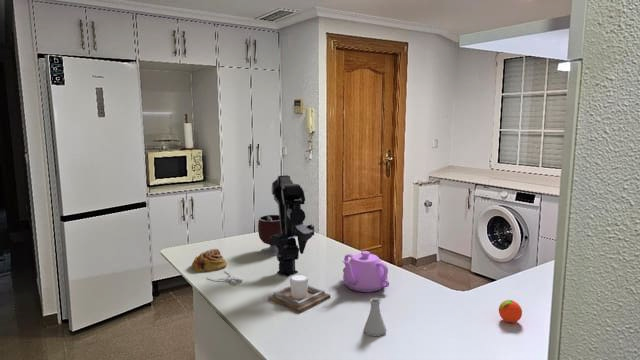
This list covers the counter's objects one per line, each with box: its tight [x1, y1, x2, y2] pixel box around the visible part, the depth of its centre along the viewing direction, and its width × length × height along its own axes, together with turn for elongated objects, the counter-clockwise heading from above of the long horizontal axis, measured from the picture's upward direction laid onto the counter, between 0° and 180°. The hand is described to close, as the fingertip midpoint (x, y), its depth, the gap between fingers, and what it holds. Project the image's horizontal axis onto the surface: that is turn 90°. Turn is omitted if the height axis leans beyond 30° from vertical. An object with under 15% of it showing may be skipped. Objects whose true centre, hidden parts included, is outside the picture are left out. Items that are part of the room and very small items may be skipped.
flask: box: [363, 298, 387, 337], centre depth 133 cm, size 7×7×10 cm
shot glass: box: [289, 273, 309, 299], centre depth 157 cm, size 7×7×7 cm
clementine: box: [498, 299, 523, 324], centre depth 138 cm, size 8×7×7 cm
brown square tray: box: [267, 284, 331, 314], centre depth 157 cm, size 16×16×3 cm
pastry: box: [191, 248, 227, 273], centre depth 191 cm, size 13×15×8 cm
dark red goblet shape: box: [257, 214, 281, 257], centre depth 208 cm, size 16×14×20 cm
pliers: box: [206, 270, 243, 286], centre depth 176 cm, size 10×2×15 cm
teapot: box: [342, 250, 390, 293], centre depth 166 cm, size 22×22×14 cm
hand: (293, 256), depth 167 cm, fingers open, 9 cm apart
